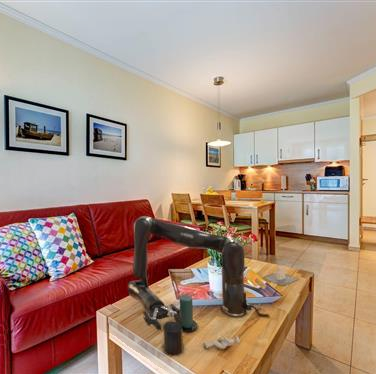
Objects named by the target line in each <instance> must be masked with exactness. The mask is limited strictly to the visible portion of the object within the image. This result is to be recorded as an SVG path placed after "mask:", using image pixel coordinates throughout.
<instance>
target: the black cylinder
mask: <svg viewBox="0 0 376 374" xmlns="http://www.w3.org/2000/svg"><path fill="white" fill-rule="evenodd" d="M183 333H184V332H183V331H182V325H181V324H180V323H178V322H176V321H175V320H170V321H166V322H165V323H164V324H163V348H164V351H165V352H166V353H167V354H169V355H171V356H178V355H180V354H182V352H183V351H184V336H183Z"/></svg>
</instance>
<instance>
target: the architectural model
mask: <svg viewBox="0 0 376 374" xmlns="http://www.w3.org/2000/svg"><path fill="white" fill-rule="evenodd" d="M263 279H264V280H266V281H270V282H272V283H274V284H278V285H280V286H285V285H288V284H290V283H292V282H295V281H298V278H295V277H292V276H289V275H286V266H285V265H283V266H282V265H279V266H278V267H277V269H276V270H275V271H273V274H270V275H268V276H265V277H264V278H263Z"/></svg>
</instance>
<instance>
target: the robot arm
mask: <svg viewBox="0 0 376 374" xmlns="http://www.w3.org/2000/svg"><path fill="white" fill-rule="evenodd" d="M150 235H154V236H159V237H162V238H164V239H166V240H168V241H169V242H171V243H173V244H176V245H178V246H182V247H186V248H191V249H207V250H211V251H215V252H218V253H220V254H221V285H222V286H221V289H222V293H221V294H222V305H221V306H222V312H223V313H224V314H226V315H228V316H230V317H237V318H238V317H239V318H241V317H243V316H244V315H247V311H249V312H251V311H252V308H253V309H254V310H255V313H256V314H257V315H258V316H260V317H269V316H270V314H269V313H260V312H259V310H258V309H257V307H255V306H254V305H252V304H251V303H250V302H249V301H248V300H247V293H246V291H245V263H246V262H245V249H244V246H243V245H242V243H241V242H240V241H239V240H238V239H237V238H235V237H232V236H227V235H226V236H225V235H217V234H213V233H211V232H210V233H209V232H206V231H203V230H200V229H197V228H193V227H190V226H185V225H180V224H176V223H170V222H165V221H161V220H159V219H156V218H153V217H150V216H147V215H143V216H140V217H138V218H137V219H136V220H135V221H134V223H133V238H134V252H133V264H132V275H133V277H134V278H137V279H140V280H130V281H129V282H128V284H127V293H128V295H129V296H130V297H131V298H132V299H134V300H136V301H138V302H139V304H141V305H142V307H143V309H144V310H145V311H143V312H142V316H143V318H142V319H143V320H144V322H145V323H146V325H147V326H148V327H149V326H151V325H152V326H154V328H155V329H156V330H158V331H161V330H162V324H161V323H160V322H159V321H160V320H162V319H168V320H171V319H173V320H174V321H175V322H178V323H180V324H181V317H180V308H178V307H176V306H175V305H174V304H173V303H170V305H169V306H166V305H165V303H164V301H162V299H160V297H159V296H158V295H157V294H155V293H154V292H153V291H152V290H151V289H150V288H149V281H148V275H147V274H148V273H147V272H148V261H149V259H148V243H149V242H148V241H149V237H150ZM158 320H159V321H158Z"/></svg>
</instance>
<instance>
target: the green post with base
mask: <svg viewBox="0 0 376 374" xmlns="http://www.w3.org/2000/svg"><path fill="white" fill-rule="evenodd" d="M179 310H180V317H181V325H182V332H183V333H193V332H195V331H196V330H197V329H198V325H197V322H196V321H195V320H194V315H193V314H194V313H193V311H194V310H193V297H192V296H191V295H189V294H181V295H179Z"/></svg>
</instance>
